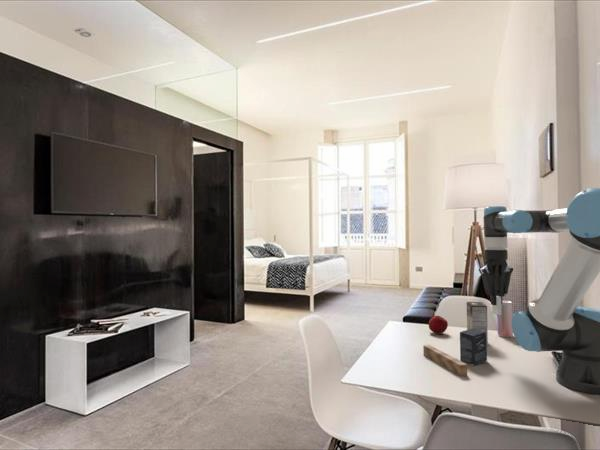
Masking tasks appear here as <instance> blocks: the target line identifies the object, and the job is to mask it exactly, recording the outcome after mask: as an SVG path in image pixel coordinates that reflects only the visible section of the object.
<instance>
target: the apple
mask: <svg viewBox="0 0 600 450" xmlns="http://www.w3.org/2000/svg"><path fill="white" fill-rule="evenodd" d="M448 326H449V325H448V320H446V319H445V318H444V317H442V316H441V315H434V316H432V317H431V318H430V319H429V321H428V329H429V330H430V331H431V332H432V333H434V334H437V335H440V334H441V335H442V334H443V333H444V332H446V330H447V329H448Z"/></svg>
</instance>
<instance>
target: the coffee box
mask: <svg viewBox="0 0 600 450" xmlns="http://www.w3.org/2000/svg"><path fill="white" fill-rule="evenodd" d="M469 329H478V330H483V331H486V340H487V346H488V345H489V344H488V343H489V341H488V340H489V339H488V336H489V335H488V334H489V333H488V305H486V304H485V303H484V302H483V301H466V330H469Z"/></svg>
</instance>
